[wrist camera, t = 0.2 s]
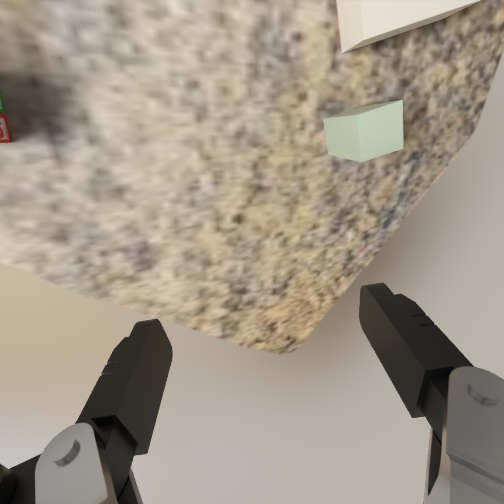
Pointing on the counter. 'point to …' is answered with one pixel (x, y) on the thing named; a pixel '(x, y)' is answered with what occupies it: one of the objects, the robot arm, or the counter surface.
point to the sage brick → (365, 131)
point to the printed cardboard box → (3, 125)
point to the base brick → (389, 18)
